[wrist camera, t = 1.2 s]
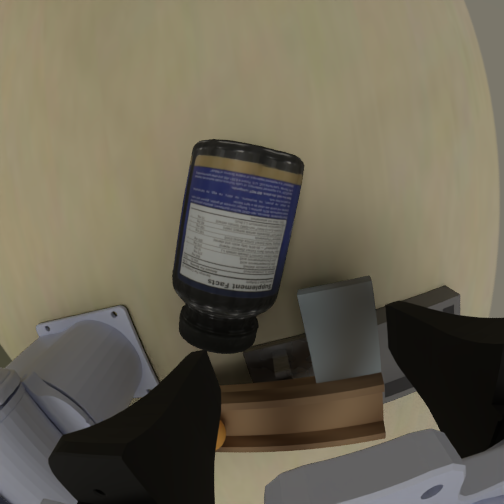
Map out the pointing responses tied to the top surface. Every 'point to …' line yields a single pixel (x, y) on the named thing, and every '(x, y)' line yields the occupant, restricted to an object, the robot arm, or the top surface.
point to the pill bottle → (233, 240)
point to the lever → (317, 381)
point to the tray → (391, 373)
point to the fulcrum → (280, 360)
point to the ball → (221, 435)
